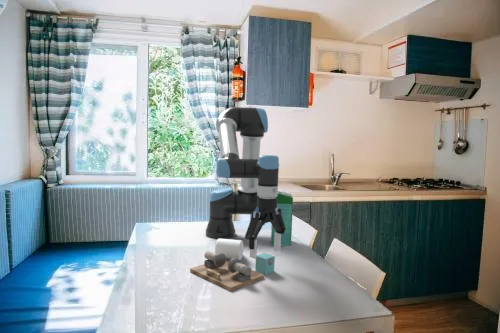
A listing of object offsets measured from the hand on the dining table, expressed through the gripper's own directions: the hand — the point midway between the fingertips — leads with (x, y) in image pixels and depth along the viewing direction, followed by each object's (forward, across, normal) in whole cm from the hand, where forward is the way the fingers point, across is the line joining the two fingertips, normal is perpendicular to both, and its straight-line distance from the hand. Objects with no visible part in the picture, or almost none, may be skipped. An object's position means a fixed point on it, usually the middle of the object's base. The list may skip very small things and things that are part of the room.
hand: (265, 253), depth 129 cm
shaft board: (+7, -13, +7) cm, 16 cm away
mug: (+7, +1, +20) cm, 22 cm away
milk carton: (+6, +33, +19) cm, 39 cm away
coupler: (+7, 0, 0) cm, 7 cm away
